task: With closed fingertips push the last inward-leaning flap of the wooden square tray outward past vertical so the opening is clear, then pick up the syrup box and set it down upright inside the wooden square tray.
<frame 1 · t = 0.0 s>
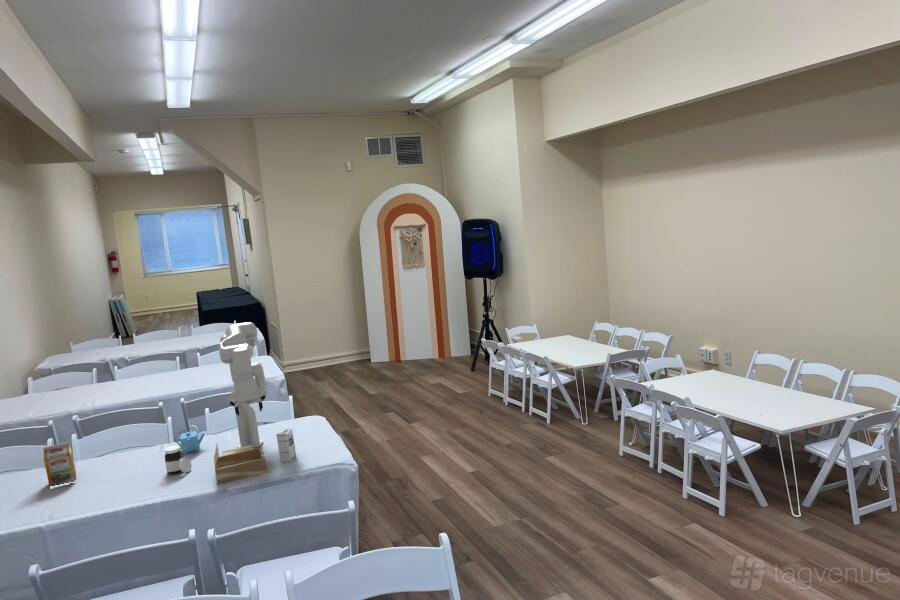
hand: (249, 412, 290), 31 cm above the table, fingers open, 9 cm apart
syrup box: (288, 460, 313), on the table
flap: (216, 455, 298), point 11 cm above the table, hinge at 72.0°
teapot: (192, 451, 336), on the table
wooden square tray: (241, 472, 303), on the table
spread jar: (179, 471, 311), on the table
yellow food package: (63, 482, 310), on the table
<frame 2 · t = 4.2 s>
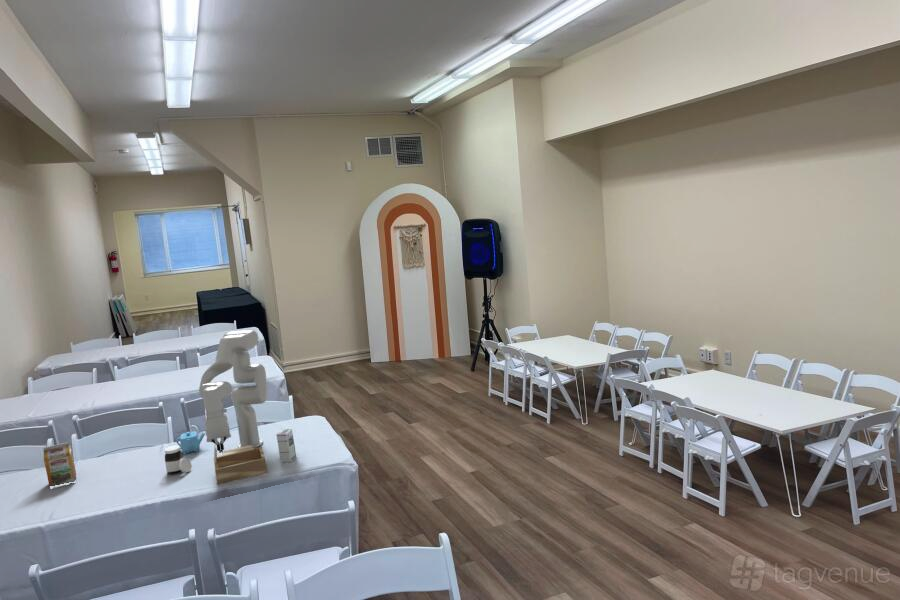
hand: (221, 451, 299), 12 cm above the table, fingers closed
flap: (215, 455, 298), point 11 cm above the table, hinge at 80.5°, touching gripper
everything else where it was.
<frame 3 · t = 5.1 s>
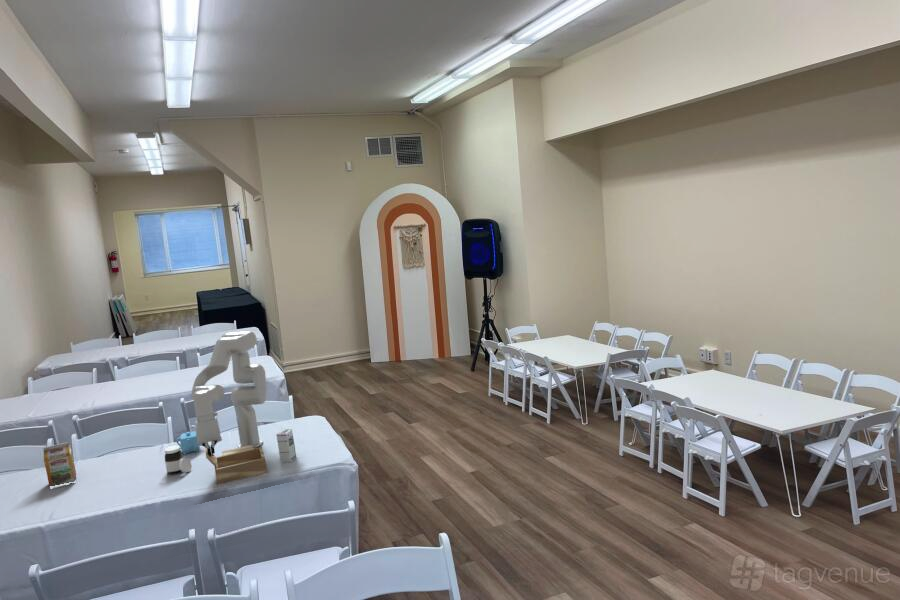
hand: (211, 455, 297), 11 cm above the table, fingers closed
flap: (210, 457, 297), point 10 cm above the table, hinge at 121.0°, touching gripper
everything else where it was.
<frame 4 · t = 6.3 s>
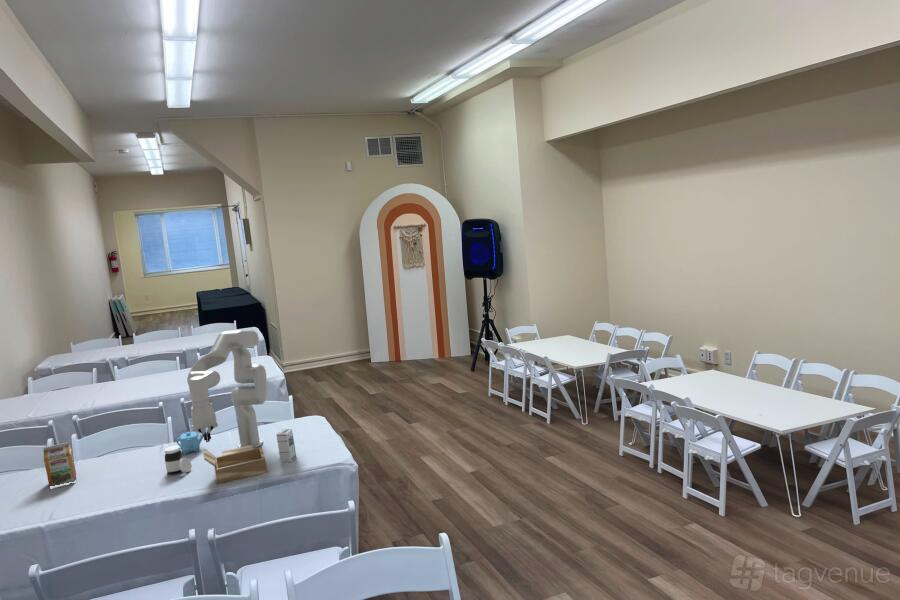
hand: (208, 441, 297), 18 cm above the table, fingers closed
flap: (210, 457, 297), point 10 cm above the table, hinge at 131.2°
everything else where it was.
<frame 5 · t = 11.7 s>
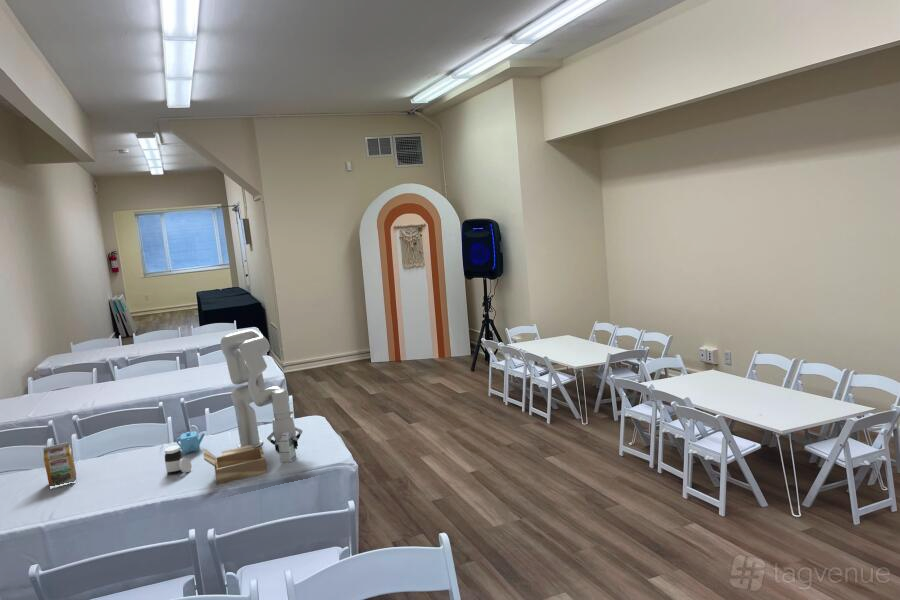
hand: (287, 449, 312), 5 cm above the table, fingers closed on syrup box, 7 cm apart
syrup box: (288, 460, 313), on the table, touching gripper
flap: (209, 458, 297), point 10 cm above the table, hinge at 131.6°
everything else where it was.
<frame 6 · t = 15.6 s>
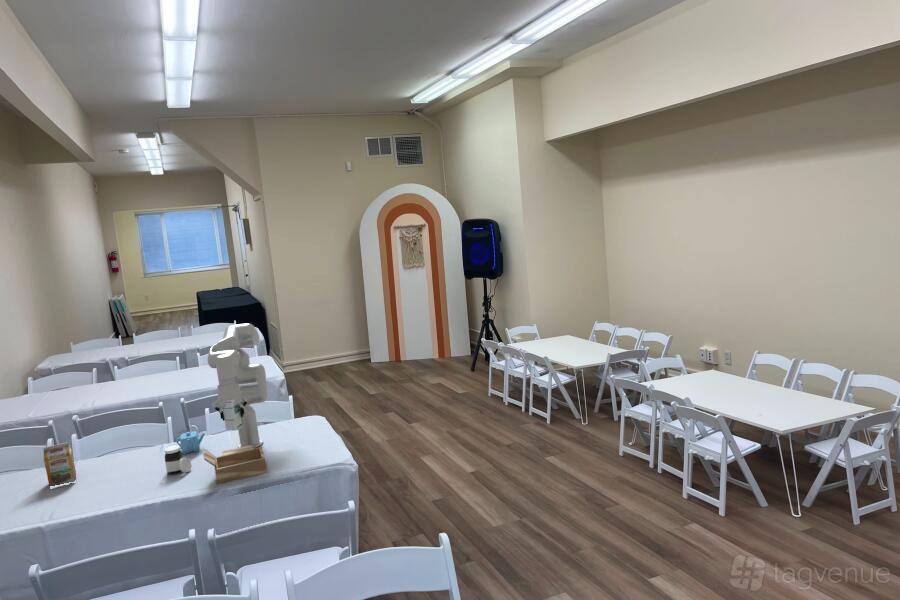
hand: (233, 417, 299), 27 cm above the table, fingers closed on syrup box, 7 cm apart
syrup box: (234, 428, 300), point 21 cm above the table, touching gripper
everything else where it was.
when the fingers open (7 cm above the table, at t = 19.7 s): syrup box drops 1 cm, resting on wooden square tray.
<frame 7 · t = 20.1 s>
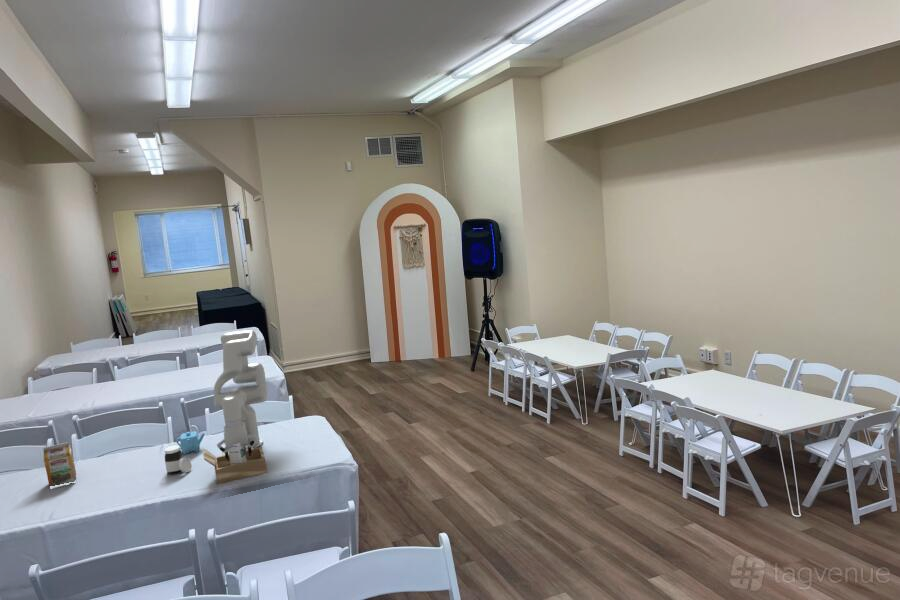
hand: (239, 457, 302), 7 cm above the table, fingers open, 9 cm apart
syrup box: (240, 471, 303), resting on wooden square tray
everything else where it was.
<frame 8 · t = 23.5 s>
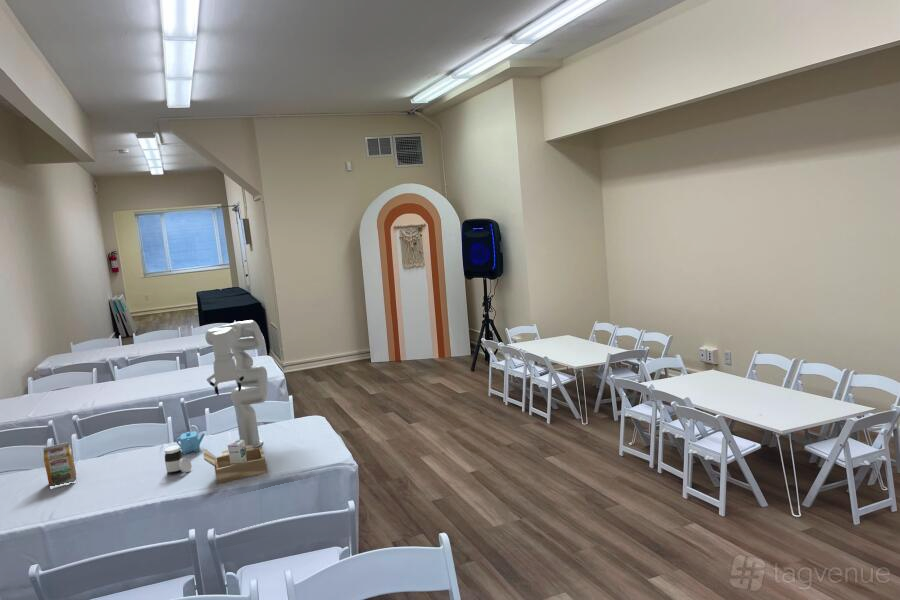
hand: (228, 392, 306), 36 cm above the table, fingers open, 9 cm apart
nothing on the table moved.
at the end: flap at +132° (first picture: +72°); syrup box inside the target area on the wooden square tray (0.2 cm from its centre), point 0.3 cm above the wooden square tray's base; syrup box tilted 0° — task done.
